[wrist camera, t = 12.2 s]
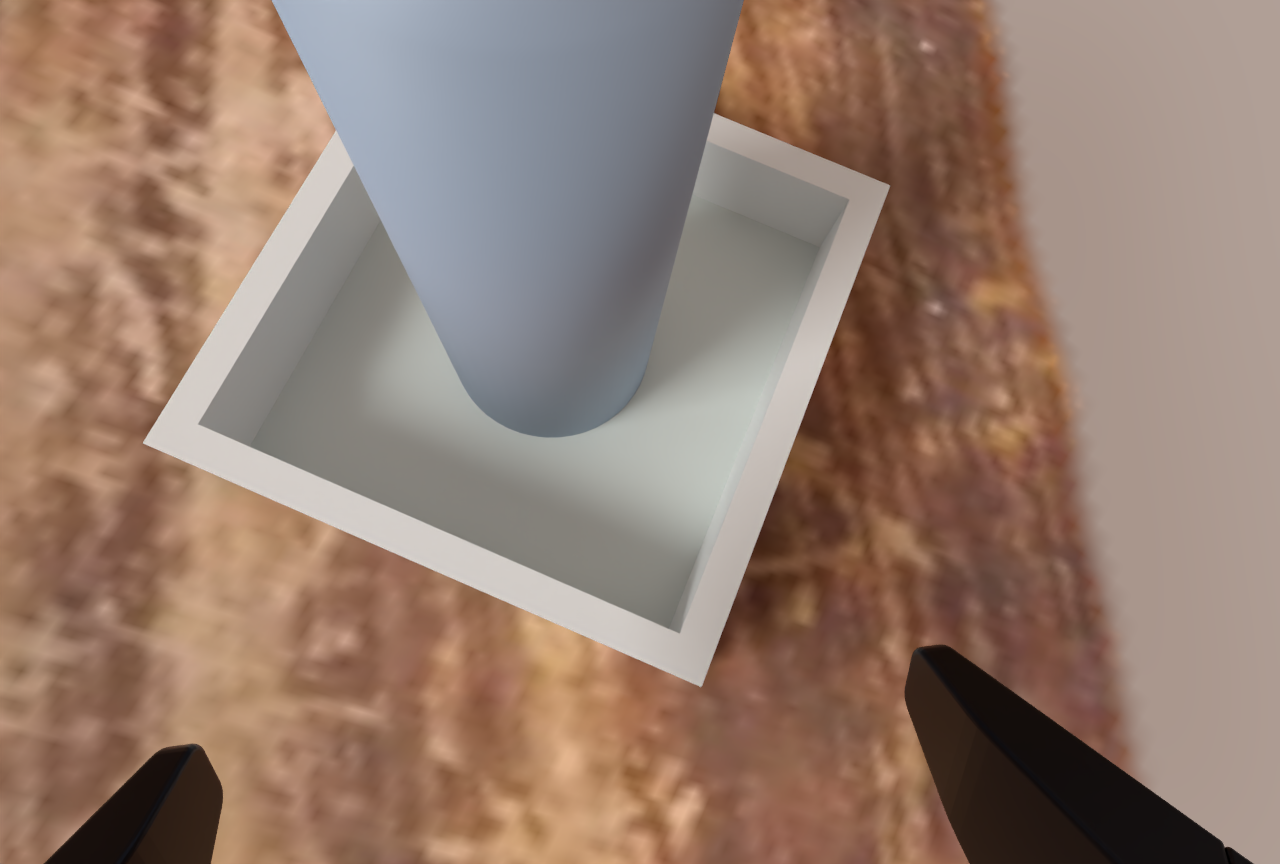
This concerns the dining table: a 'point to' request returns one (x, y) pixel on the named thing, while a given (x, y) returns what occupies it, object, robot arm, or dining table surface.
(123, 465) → the dining table surface
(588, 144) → the slate capsule
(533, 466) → the shallow square tray
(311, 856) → the dining table surface
